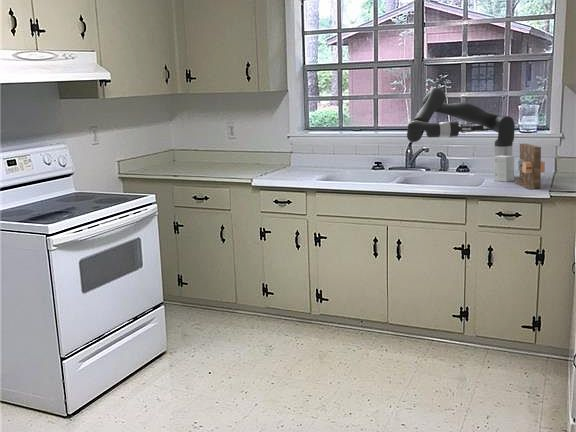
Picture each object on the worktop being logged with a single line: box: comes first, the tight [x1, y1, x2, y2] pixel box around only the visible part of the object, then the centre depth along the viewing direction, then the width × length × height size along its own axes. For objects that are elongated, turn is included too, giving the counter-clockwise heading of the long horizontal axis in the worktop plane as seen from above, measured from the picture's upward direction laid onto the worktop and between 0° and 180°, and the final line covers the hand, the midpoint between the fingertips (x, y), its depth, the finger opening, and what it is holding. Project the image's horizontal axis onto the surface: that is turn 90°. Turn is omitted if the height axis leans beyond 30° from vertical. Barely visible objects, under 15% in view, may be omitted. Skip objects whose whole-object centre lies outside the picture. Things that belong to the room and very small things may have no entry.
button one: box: [514, 158, 525, 172], centre depth 329 cm, size 5×9×5 cm, turn 89°
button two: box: [522, 160, 546, 173], centre depth 318 cm, size 5×9×5 cm, turn 89°
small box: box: [493, 155, 515, 183], centre depth 346 cm, size 8×6×13 cm
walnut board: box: [514, 143, 542, 190], centre depth 324 cm, size 21×6×20 cm, turn 179°
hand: (482, 127), depth 323 cm, fingers closed
